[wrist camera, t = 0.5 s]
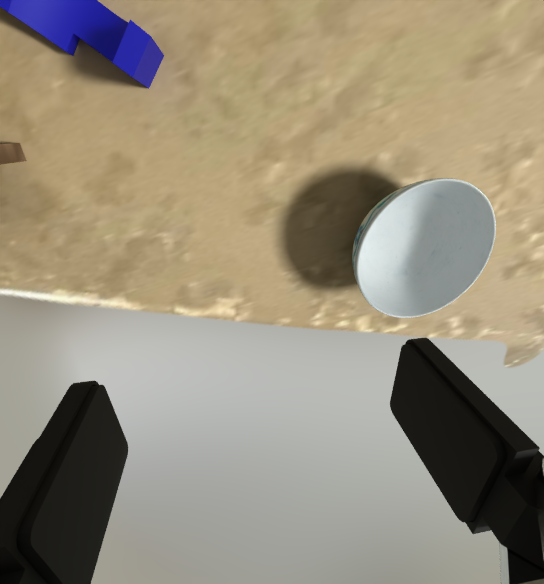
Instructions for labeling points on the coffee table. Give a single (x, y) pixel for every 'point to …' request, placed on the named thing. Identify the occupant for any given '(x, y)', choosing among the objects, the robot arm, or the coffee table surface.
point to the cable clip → (91, 32)
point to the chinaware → (423, 246)
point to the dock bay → (11, 153)
